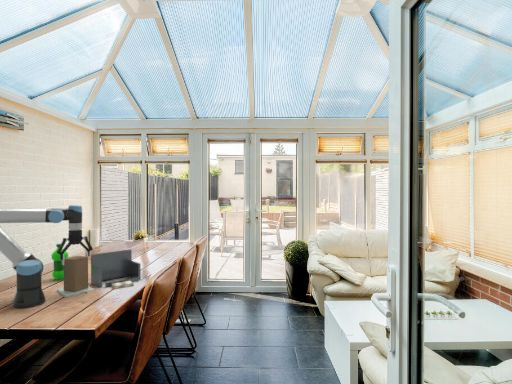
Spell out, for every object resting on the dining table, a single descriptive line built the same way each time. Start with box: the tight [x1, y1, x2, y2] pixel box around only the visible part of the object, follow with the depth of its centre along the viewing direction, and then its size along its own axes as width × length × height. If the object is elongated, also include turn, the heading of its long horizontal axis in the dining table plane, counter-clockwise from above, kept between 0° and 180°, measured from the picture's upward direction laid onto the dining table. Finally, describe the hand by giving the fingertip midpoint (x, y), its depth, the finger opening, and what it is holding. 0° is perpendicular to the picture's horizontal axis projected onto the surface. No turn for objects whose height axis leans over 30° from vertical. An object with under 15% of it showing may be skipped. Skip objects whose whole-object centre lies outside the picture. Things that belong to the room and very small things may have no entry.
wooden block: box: [63, 255, 89, 292], centre depth 212 cm, size 10×10×20 cm
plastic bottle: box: [51, 243, 69, 281], centre depth 241 cm, size 10×10×25 cm
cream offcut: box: [111, 281, 134, 290], centre depth 219 cm, size 12×7×2 cm, turn 126°
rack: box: [90, 248, 142, 288], centre depth 230 cm, size 28×19×20 cm
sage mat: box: [56, 284, 96, 298], centre depth 212 cm, size 17×18×1 cm
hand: (75, 263), depth 212 cm, fingers open, 13 cm apart
